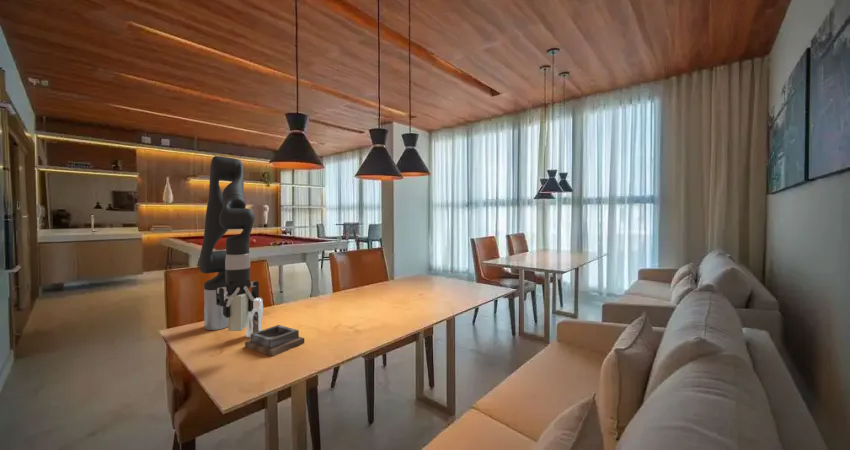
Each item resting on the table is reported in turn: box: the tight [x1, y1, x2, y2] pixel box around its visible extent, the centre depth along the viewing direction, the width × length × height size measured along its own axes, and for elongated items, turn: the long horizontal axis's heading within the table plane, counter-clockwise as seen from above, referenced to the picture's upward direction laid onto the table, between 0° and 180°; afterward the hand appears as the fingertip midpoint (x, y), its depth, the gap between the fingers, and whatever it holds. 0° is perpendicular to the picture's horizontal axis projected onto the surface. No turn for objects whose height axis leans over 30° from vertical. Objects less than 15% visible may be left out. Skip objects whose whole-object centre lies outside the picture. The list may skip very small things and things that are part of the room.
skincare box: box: [227, 293, 249, 332], centre depth 120 cm, size 6×4×12 cm
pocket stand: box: [244, 324, 305, 357], centre depth 133 cm, size 16×14×5 cm
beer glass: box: [245, 296, 264, 339], centre depth 142 cm, size 7×7×15 cm
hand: (238, 314), depth 120 cm, fingers closed on skincare box, 7 cm apart
